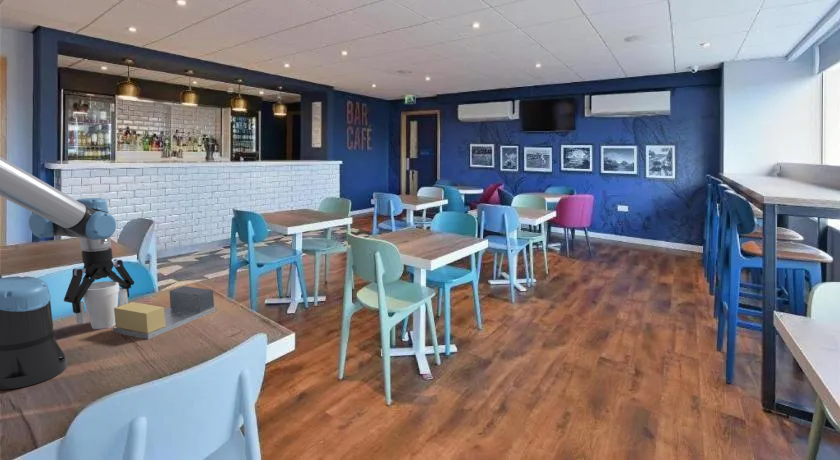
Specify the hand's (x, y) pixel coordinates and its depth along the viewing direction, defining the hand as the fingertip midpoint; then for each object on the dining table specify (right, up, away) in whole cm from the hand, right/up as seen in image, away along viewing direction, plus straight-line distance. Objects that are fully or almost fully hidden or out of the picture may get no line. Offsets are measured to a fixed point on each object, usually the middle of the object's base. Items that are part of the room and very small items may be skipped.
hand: (104, 315), depth 139 cm
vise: (+17, -3, +5) cm, 18 cm away
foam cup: (0, -4, 0) cm, 4 cm away
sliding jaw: (+14, -3, -4) cm, 15 cm away
